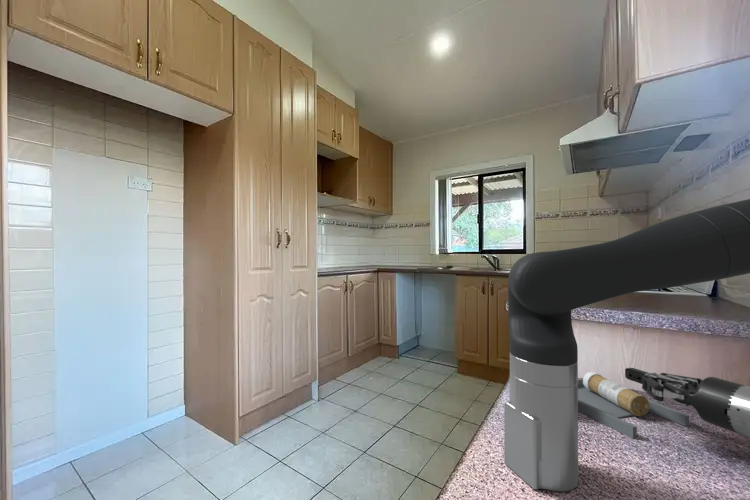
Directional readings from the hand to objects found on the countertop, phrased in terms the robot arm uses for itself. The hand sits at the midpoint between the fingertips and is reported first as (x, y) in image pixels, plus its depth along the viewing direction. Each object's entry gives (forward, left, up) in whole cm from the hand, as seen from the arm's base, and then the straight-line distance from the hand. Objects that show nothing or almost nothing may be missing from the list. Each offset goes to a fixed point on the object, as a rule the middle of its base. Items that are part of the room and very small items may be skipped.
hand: (627, 372), depth 65 cm
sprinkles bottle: (+2, -1, -7) cm, 7 cm away
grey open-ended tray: (0, +4, -9) cm, 10 cm away
